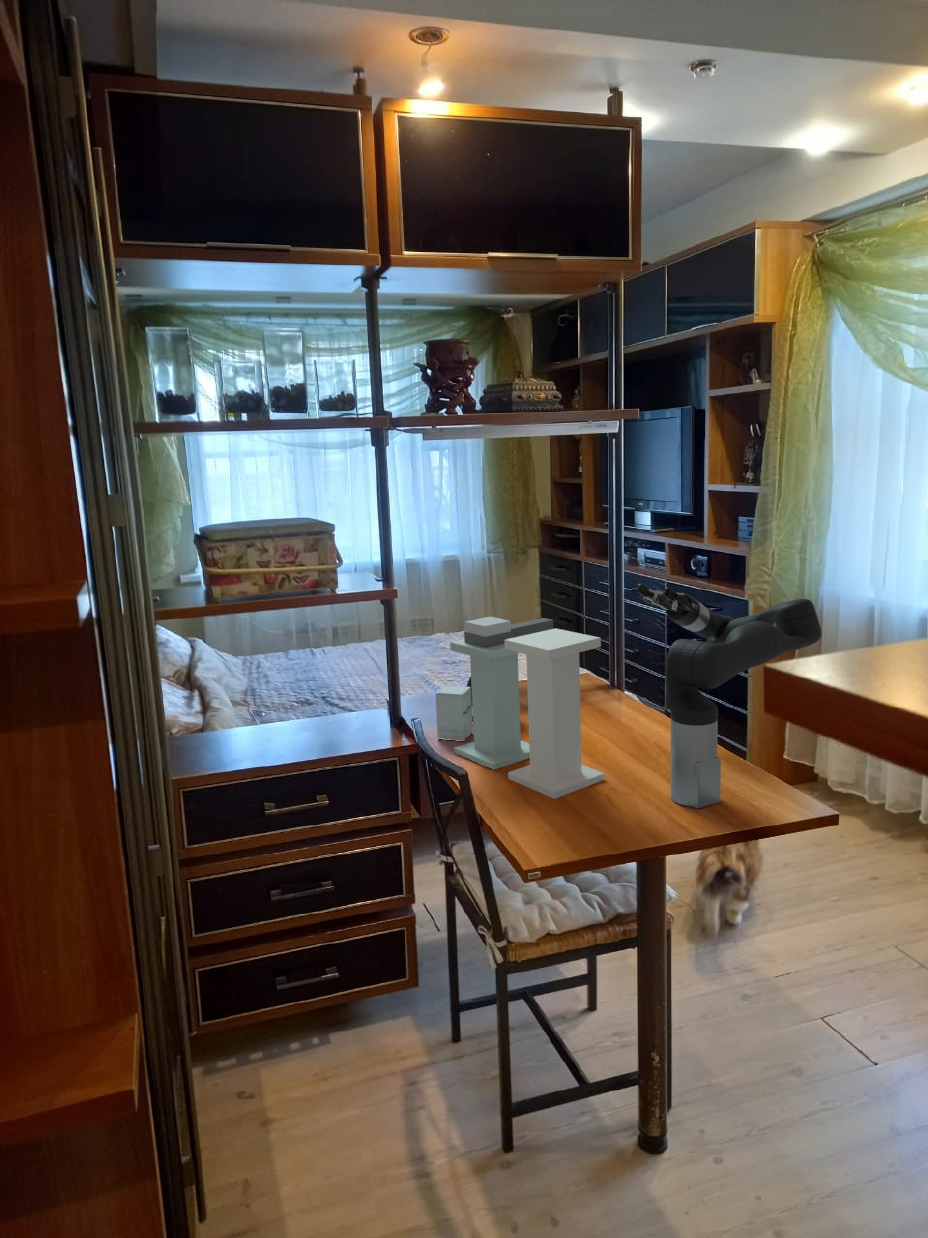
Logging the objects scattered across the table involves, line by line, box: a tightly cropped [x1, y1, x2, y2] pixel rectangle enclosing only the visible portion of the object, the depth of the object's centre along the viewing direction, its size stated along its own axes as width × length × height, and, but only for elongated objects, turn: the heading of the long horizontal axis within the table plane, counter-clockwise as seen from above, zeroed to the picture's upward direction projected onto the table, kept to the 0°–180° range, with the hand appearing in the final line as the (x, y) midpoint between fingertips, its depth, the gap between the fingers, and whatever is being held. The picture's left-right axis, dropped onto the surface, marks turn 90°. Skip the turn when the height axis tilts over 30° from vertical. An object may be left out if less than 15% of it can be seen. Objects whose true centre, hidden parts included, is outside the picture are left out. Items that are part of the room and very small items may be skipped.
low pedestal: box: [449, 638, 530, 770], centre depth 202 cm, size 15×15×28 cm
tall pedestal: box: [504, 627, 605, 800], centre depth 184 cm, size 15×15×32 cm
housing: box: [463, 616, 554, 648], centre depth 202 cm, size 23×8×5 cm, turn 127°
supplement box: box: [434, 685, 474, 741], centre depth 217 cm, size 7×7×13 cm
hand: (651, 589), depth 206 cm, fingers open, 8 cm apart
